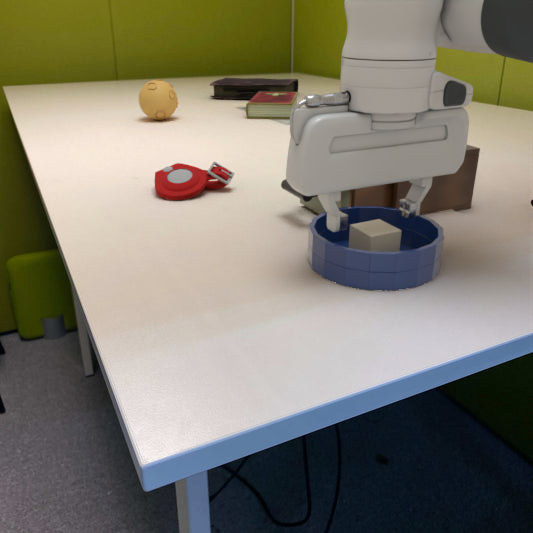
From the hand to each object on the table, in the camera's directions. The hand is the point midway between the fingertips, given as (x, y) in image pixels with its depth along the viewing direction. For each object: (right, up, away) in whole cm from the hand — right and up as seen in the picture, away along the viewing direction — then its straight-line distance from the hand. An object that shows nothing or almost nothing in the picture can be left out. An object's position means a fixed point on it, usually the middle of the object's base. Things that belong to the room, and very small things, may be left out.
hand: (373, 222), depth 59 cm
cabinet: (+9, +5, +21) cm, 23 cm away
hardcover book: (-10, +38, +93) cm, 100 cm away
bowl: (0, -5, +2) cm, 5 cm away
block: (0, -4, +2) cm, 5 cm away
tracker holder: (-23, +7, +27) cm, 36 cm away
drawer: (-1, +3, +16) cm, 17 cm away
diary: (-15, +50, +119) cm, 130 cm away
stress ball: (-39, +33, +84) cm, 98 cm away
